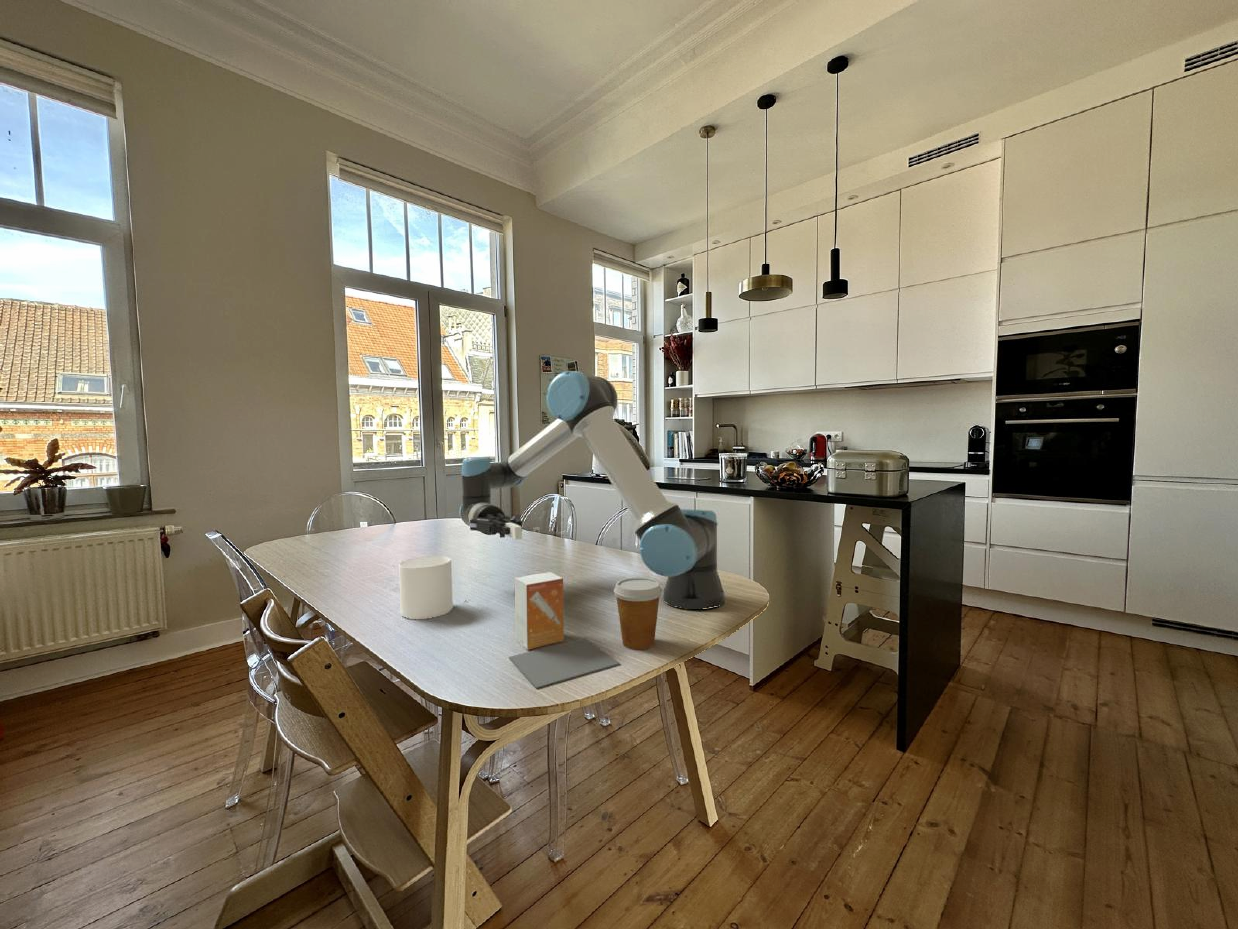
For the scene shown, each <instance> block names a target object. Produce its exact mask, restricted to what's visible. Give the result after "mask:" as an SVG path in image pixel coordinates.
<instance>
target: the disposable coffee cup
mask: <svg viewBox="0 0 1238 929" xmlns="http://www.w3.org/2000/svg"><path fill="white" fill-rule="evenodd" d="M662 591H663V590H662V587H661V585H660V582H659V581H658V580H655V579H652V578H649V577H648V578H646V577H628V578H624V579H620V580H618V581H617V582H616V583H615V587H614V588H613V593H614V595H615V597H616V604H617V611H618V620H619V626H620V633H621V639H622V640H621V641H622V645H623V646H624V647H625V648H627V649H630V650H646V649H647V650H648V649H650V648H651V647H653V646H654V645H655V639H656V630H657V621H658V612H659V603H660V597H661V594H662ZM649 647H650V648H649Z"/></svg>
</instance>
